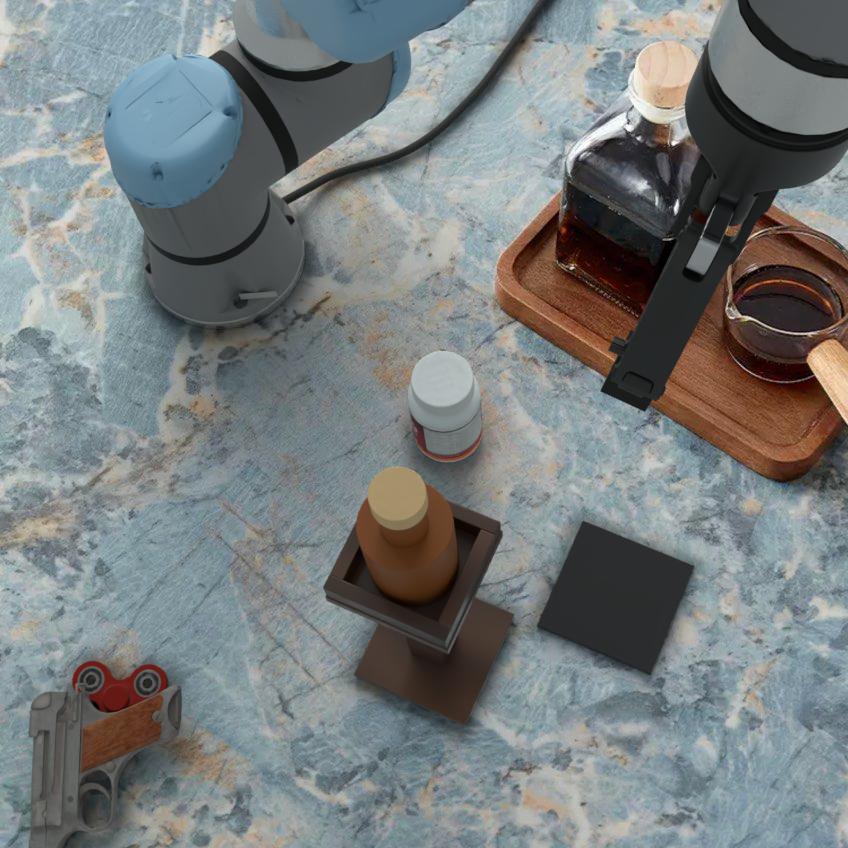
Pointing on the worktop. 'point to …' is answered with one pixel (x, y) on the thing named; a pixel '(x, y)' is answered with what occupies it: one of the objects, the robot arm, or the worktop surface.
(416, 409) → the pill bottle
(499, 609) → the holder
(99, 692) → the fidget spinner
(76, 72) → the worktop surface
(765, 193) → the robot arm
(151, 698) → the pistol
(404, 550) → the bottle
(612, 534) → the mat
